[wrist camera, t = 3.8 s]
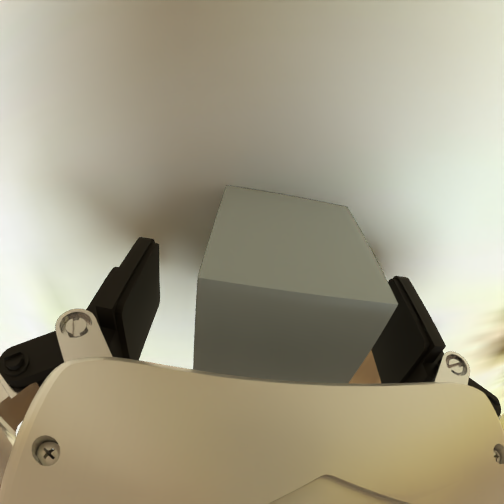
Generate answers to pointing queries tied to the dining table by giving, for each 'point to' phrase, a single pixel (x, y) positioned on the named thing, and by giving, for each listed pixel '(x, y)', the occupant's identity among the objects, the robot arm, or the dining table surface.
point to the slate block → (287, 291)
